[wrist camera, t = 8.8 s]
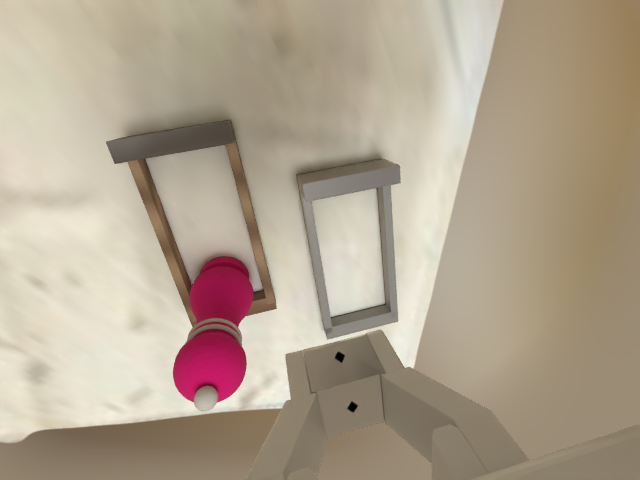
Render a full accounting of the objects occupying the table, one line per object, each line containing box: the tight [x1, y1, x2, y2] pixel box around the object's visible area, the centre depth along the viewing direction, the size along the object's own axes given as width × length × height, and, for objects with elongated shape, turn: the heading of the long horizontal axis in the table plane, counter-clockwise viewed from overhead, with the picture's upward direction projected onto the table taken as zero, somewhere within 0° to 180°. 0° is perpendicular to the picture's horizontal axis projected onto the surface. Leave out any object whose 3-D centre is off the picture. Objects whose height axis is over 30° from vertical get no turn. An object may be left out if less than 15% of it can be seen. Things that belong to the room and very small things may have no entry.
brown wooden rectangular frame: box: [106, 120, 277, 327], centre depth 37 cm, size 24×11×5 cm, turn 9°
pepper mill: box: [173, 257, 253, 411], centre depth 33 cm, size 7×7×20 cm
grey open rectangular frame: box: [297, 159, 401, 340], centre depth 42 cm, size 24×11×5 cm, turn 9°
